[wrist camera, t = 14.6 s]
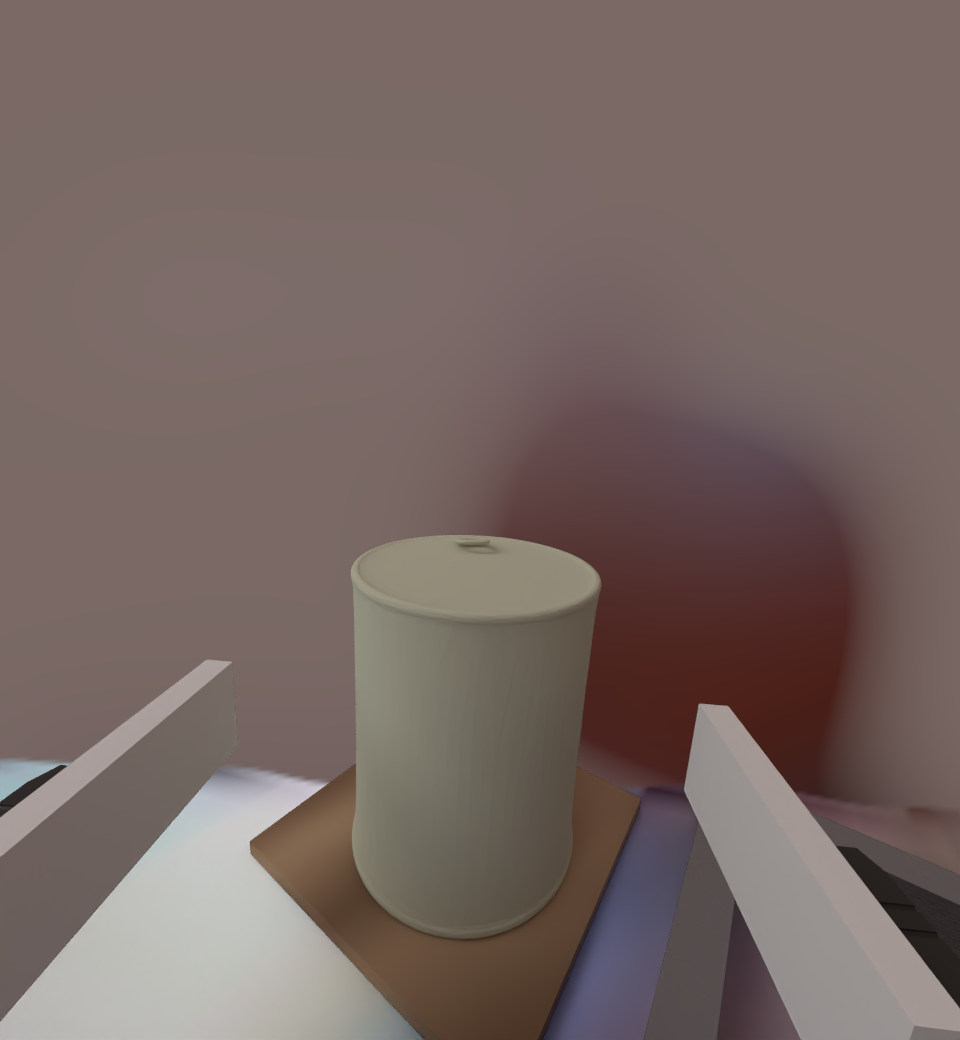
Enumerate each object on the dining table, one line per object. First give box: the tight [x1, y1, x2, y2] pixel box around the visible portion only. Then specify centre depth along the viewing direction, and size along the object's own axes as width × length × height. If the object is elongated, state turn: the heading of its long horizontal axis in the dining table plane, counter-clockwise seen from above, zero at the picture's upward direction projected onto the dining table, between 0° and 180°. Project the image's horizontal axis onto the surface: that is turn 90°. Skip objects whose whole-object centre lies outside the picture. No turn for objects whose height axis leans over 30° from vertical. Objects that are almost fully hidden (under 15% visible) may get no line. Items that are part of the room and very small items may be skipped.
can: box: [351, 535, 601, 939], centre depth 18 cm, size 9×9×12 cm
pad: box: [250, 764, 641, 1040], centre depth 19 cm, size 12×12×1 cm
